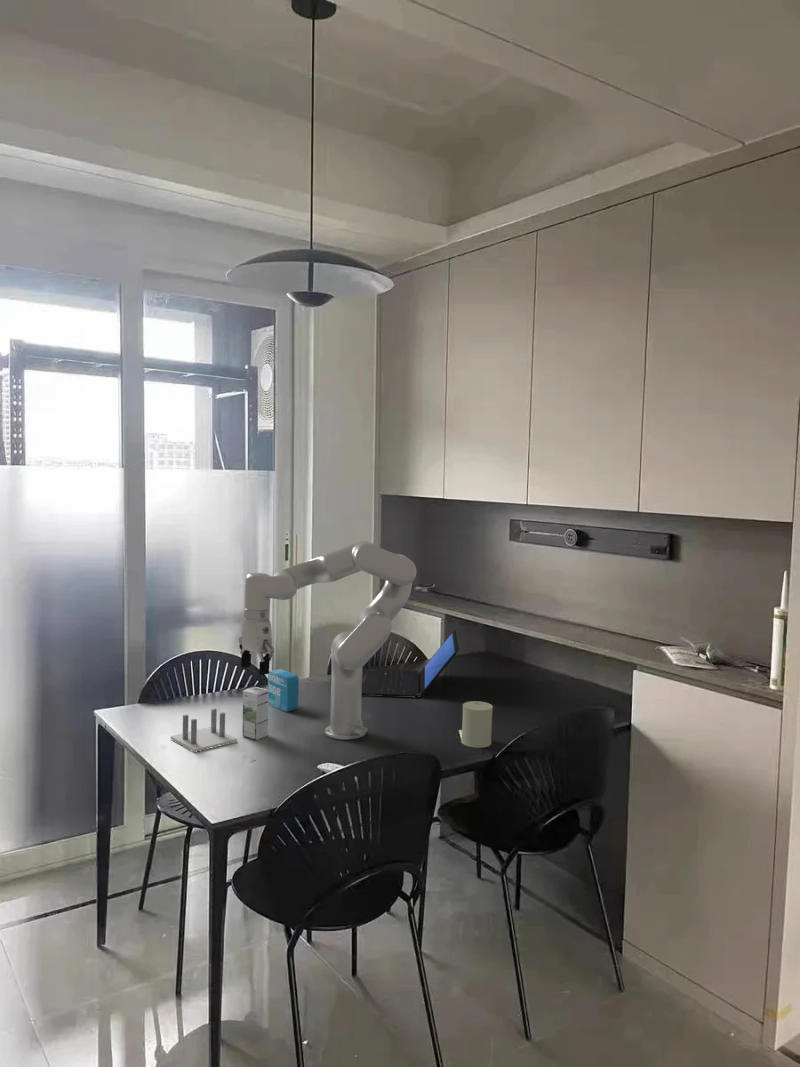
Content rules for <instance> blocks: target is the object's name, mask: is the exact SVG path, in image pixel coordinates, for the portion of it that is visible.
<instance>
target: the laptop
mask: <svg viewBox="0 0 800 1067" xmlns="http://www.w3.org/2000/svg"><path fill="white" fill-rule="evenodd" d="M457 636H458V635H457V631H456V629H453V631H452V632H451V633H450V634H449V635H448V637H447V638H446V639H445V641H443V643H442V644H441V645H440V646H439V648H437V650H436V651H435V653H434V654H433V655H432V657H430V659H429V660H428V661H427V663H426V664H425V665H424V666H423V667H422V668H421V670H403V669H402V670H400V669H376V668H362V695H383V696H415V697H418V696H420V697H422V696H423V695H425V694H424V693H426V691H427V690H428V689H429V688H430V687H431V685H432V684H433V683H434V682H435V681H436V679H438V677H439V676H440V674H441V673H442V672H443V671H444V670H445V668H446V667H447V666H448V664H449V663H450V662H451V661H452V659H454V657H455V656H456V654H457V653H458V651H459V650H460V648H459V643H458V637H457ZM419 673H420V675H419ZM418 698H419V697H418Z"/></svg>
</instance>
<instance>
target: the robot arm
mask: <svg viewBox="0 0 800 1067" xmlns="http://www.w3.org/2000/svg"><path fill="white" fill-rule="evenodd" d="M361 571H362V572H364V573H367V574H369V575H371V576H373V577H376V578H379V579H381V580H384V581H385V582H384V584H383V587H382V589H381V590H380V591H379V592H378V594H377V595H376V596H375V597H374V598H373V599H372V601H370V602H369V603H368V605H367V606H366V607H364V609H363V610H362V611H361V612H360V613H359V614H358V616H357V618H356V628H355V629H353V631H342V632H340V633H338V634H337V635H336V636H335V637H334V638H333V640H332V643H331V647H330V649H331V650H330V654H331V655H330V656H331V658H330V659H331V678H330V679H331V680H330V713H329V714H330V716H329V718H330V719H329V725H328V726H326V727H325V728H324V734H325V735H326V737H328V738H331V739H336V740H343V741H345V740H346V741H347V740H355V739H359V738H362V737H364V736H366V733H367V732H368V728H367V727H365V726H364V721H363V720H362V700H363V699H362V697H363V696H362V669H363V667H364V666H365V665H366V663H368V661H370V659H372V658H373V656H374V655H375V654H376V653H377V652H378V651H379V650H380V648H381V647H382V646H383V645H384V644H385V643H386V641H388V640H389V637H390V636H391V633H392V620H394V619H395V617H397V615H398V613H399V612H400V611H401V610H402V608H404V607H405V605H406V603H407V602H408V600H409V599H410V596H411V592H412V586H413V581H414V580H415V579H416V576H417V567H416V565H415V563H414V561H412V559H410V558H408V557H407V556H405V555H404V554H400V553H393V552H391V551H388V550H386V549H384V548H382V547H379V546H377V545H376V544H374V543H372V542H370V541H368V540H361V541H357V542H355V543H352V544H350V545H347V546H344V547H342V548H339V549H336V550H334V551H331V552H329V553H326V554H324V555H320V556H317V557H315V558H312V559H310V560H305V561H302V562H299V563H296V564H294V565H292V566H289V567H286V568H283V569H281V570H279V571H277V572H275V574H274V575H270V574H267V573H263V572H252V573H251V572H250V573H248V574H247V575H246V576H245V581H244V582H245V586H244V590H245V591H244V610H243V611H244V612H243V614H244V615H243V622H242V631H241V636H240V637H238V644H239V650H240V651H239V652H240V658H241V659H240V667H241V668H242V669H244V668H250V667H251V666H252V653H253V654H256V655H258V657H259V659H260V661H259V663H258V664H259V665H258V666H259V669H258V672H259V673H258V674H259V676H263V675H268V674H269V671H270V662H271V661H272V658H273V654H274V653H275V652H274V651H275V648H274V647H273V632H272V631H273V630H272V623H271V620H270V619H271V618H270V617H271V615H270V614H271V611H270V610H271V599H275V600H280V601H287V600H290V599H292V598H294V597H295V595H297V590H299V589H302V588H304V587H307V586H310V585H313V584H318V583H319V584H321V583H324V584H325V583H333V582H336V581H339V580H341V579H343V578H346V577H348V576H351V575H354V574H356V573H359V572H361Z"/></svg>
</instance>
